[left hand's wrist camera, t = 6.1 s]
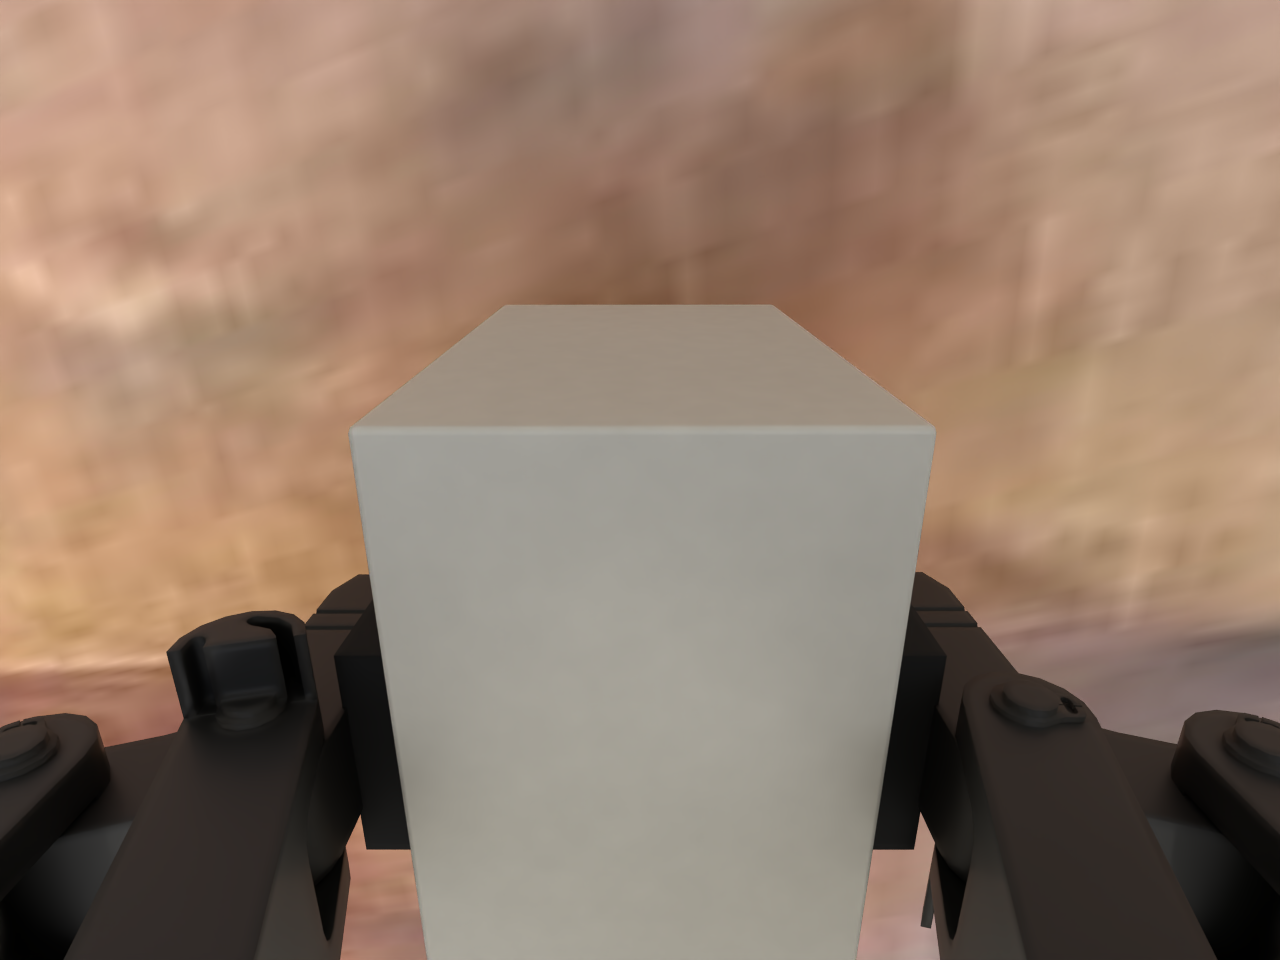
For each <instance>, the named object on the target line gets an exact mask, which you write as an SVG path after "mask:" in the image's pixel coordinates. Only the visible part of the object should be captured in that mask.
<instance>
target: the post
mask: <svg viewBox="0 0 1280 960" xmlns="http://www.w3.org/2000/svg"><path fill="white" fill-rule="evenodd" d="M348 435H349V441H350V448H351V455H352V461H353V468H354V475H355V481H356V488H357V495H358V501H359V508H360V515H361V521H362V528H363V535H364V541H365V548H366V555H367V561H368V568H369V575H370V581H371V588H372V595H373V601H374V608H375V615H376V621H377V628H378V635H379V641H380V648H381V655H382V661H383V668H384V675H385V682H386V688H387V695H388V702H389V708H390V715H391V722H392V728H393V735H394V742H395V748H396V755H397V762H398V768H399V775H400V782H401V788H402V795H403V802H404V808H405V815H406V822H407V828H408V835H409V842H410V848H411V855H412V862H413V868H414V875H415V882H416V888H417V895H418V902H419V908H420V915H421V922H422V928H423V935H424V942H425V948H426V955H427V960H856V956H857V949H858V943H859V936H860V930H861V923H862V917H863V910H864V903H865V897H866V890H867V884H868V877H869V871H870V864H871V858H872V851H873V845H874V838H875V831H876V825H877V818H878V812H879V805H880V799H881V792H882V786H883V779H884V773H885V766H886V759H887V753H888V746H889V740H890V733H891V727H892V720H893V714H894V707H895V701H896V694H897V687H898V681H899V674H900V668H901V661H902V655H903V648H904V642H905V635H906V629H907V622H908V615H909V609H910V602H911V596H912V589H913V583H914V576H915V570H916V563H917V557H918V550H919V543H920V537H921V530H922V524H923V517H924V511H925V504H926V498H927V491H928V485H929V478H930V471H931V465H932V458H933V452H934V445H935V439H936V430H935V426H933V425H932V424H931V423H929V422H928V421H927V420H925V419H924V418H923V417H921V416H920V415H919V414H917V413H916V412H915V411H913V410H912V409H911V408H909V407H908V406H907V405H905V404H904V403H903V402H901V401H900V400H899V399H897V398H896V397H895V396H893V395H892V394H891V393H889V392H888V391H887V390H885V389H884V388H883V387H881V386H880V385H879V384H877V383H876V382H875V381H873V380H872V379H871V378H869V377H868V376H867V375H865V374H864V373H863V372H861V371H860V370H859V369H857V368H856V367H855V366H853V365H852V364H851V363H849V362H848V361H847V360H845V359H844V358H843V357H841V356H840V355H839V354H837V353H836V352H835V351H833V350H832V349H831V348H829V347H828V346H827V345H825V344H824V343H823V342H821V341H820V340H819V339H817V338H816V337H815V336H813V335H812V334H811V333H809V332H808V331H807V330H805V329H804V328H803V327H801V326H800V325H799V324H797V323H796V322H795V321H793V320H792V319H791V318H789V317H788V316H787V315H785V314H784V313H783V312H781V311H780V310H779V309H777V308H776V307H775V306H773V305H505V306H503V307H502V308H500V309H499V310H498V311H497V312H495V313H494V314H493V315H491V316H490V317H489V318H488V319H486V320H485V321H484V322H483V323H481V324H480V325H479V326H478V327H476V328H475V329H474V330H472V331H471V332H470V333H469V334H467V335H466V336H465V337H464V338H462V339H461V340H460V341H459V342H457V343H456V344H455V345H454V346H452V347H451V348H450V349H448V350H447V351H446V352H445V353H443V354H442V355H441V356H440V357H438V358H437V359H436V360H435V361H433V362H432V363H431V364H430V365H428V366H427V367H426V368H424V369H423V370H422V371H421V372H419V373H418V374H417V375H416V376H414V377H413V378H412V379H411V380H409V381H408V382H407V383H406V384H404V385H403V386H402V387H400V388H399V389H398V390H397V391H395V392H394V393H393V394H392V395H390V396H389V397H388V398H387V399H385V400H384V401H383V402H382V403H380V404H379V405H378V406H376V407H375V408H374V409H373V410H371V411H370V412H369V413H368V414H366V415H365V416H364V417H363V418H361V419H360V420H359V421H357V422H356V423H355V424H354V425H352V426H351V427H350V429H349V433H348Z"/></svg>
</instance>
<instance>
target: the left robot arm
mask: <svg viewBox="0 0 1280 960" xmlns="http://www.w3.org/2000/svg"><path fill="white" fill-rule="evenodd" d="M166 653H167V656H168V660H169V664H170V668H171V672H172V675H173V679H174V683H175V687H176V691H177V694H178V698H179V702H180V706H181V710H182V713H183V717H184V719H183V721H182V723H181V725H180V727H179V729H178V731H177V732H175V733H172V734H168V735H164V736H159V737H154V738H149V739H144V740H139V741H134V742H129V743H124V744H119V745H114V746H109V747H105V748H104V745H103V742H102V739H101V736H100V732H99V729H98V726H97V724H96V723H94V722H93V721H92V720H90V719H89V718H88V717H87V716H82V715H75V714H68V713H63V714H55V715H46V716H37V717H32V718H28V719H24V720H23V721H21V722H20V721H17V722H14V723H11V724H8V725H5V726H3V727H1V728H0V960H340V956H341V948H342V940H343V933H344V925H345V917H346V909H347V902H348V894H349V886H350V870H349V863H348V857H347V852H346V844H347V842H348V840H349V838H350V836H351V833H352V831H353V829H354V827H355V825H356V823H357V820H358V818H359V816H360V814H361V820H362V825H363V831H364V837H365V843H366V849H411V848H410V842H409V835H408V828H407V822H406V815H405V808H404V802H403V795H402V788H401V782H400V775H399V768H398V762H397V755H396V748H395V742H394V735H393V728H392V722H391V715H390V708H389V702H388V695H387V688H386V682H385V675H384V668H383V661H382V655H381V648H380V641H379V635H378V628H377V621H376V615H375V608H374V601H373V595H372V588H371V581H370V575H357V576H355V577H354V578H352V579H351V580H349V581H347V582H346V583H344V584H342V585H341V586H339V587H338V588H336V589H334V590H333V591H332V592H331V593H330V594H329V595H328V596H327V598H326V599H325V600H324V601H323V603H322V604H321V605H320V606H319V608H318V609H317V613H316V614H313V615H312V616H311V617H310V619H309V620H308V621H307V622H306V624H305V623H304V622H303V621H302V620H300V619H299V618H298V617H297V616H295V615H294V614H289V613H285V612H280V611H251V612H246V613H241V614H236V615H231V616H226V617H223V618H221V619H218V620H215V621H213V622H210V623H207V624H204V625H202V626H200V627H198V628H196V629H195V630H193V631H191V632H189V633H188V634H186V635H184V636H183V637H181V638H179V639H178V641H177V642H176V643H175V644H174V645H173V646H172V647H171V648H170V649H169V650H168V651H167V652H166ZM920 811H921V814H922V816H923V818H924V820H925V822H926V824H927V826H928V829H929V831H930V833H931V835H932V837H933V839H934V841H935V846H934V852H933V857H932V863H931V868H930V873H929V879H928V884H927V890H926V895H925V901H924V906H923V912H922V920H921V926H922V927H926V928H931V925H932V919H933V914H934V915H935V923H936V931H937V938H938V946H939V954H940V960H1280V723H1278V722H1275V721H1272V720H1269V719H1266V718H1263V717H1262V718H1259V717H1258V716H1256V715H1251V714H1247V713H1238V712H1230V711H1221V710H1212V711H1204V712H1197V713H1195V714H1193V715H1192V716H1191V717H1190V718H1188V719H1187V720H1186V721H1185V722H1184V725H1183V728H1182V731H1181V735H1180V738H1179V741H1178V744H1173V743H1168V742H1163V741H1158V740H1153V739H1148V738H1143V737H1138V736H1133V735H1128V734H1123V733H1118V732H1114V731H1110V730H1106V729H1102V728H1101V726H1100V724H1099V722H1098V720H1097V718H1096V717H1095V716H1094V714H1093V713H1092V712H1091V711H1090V709H1089V708H1088V707H1087V706H1086V704H1085V703H1084V702H1082V701H1081V700H1080V699H1078V698H1077V697H1075V696H1074V695H1072V694H1071V693H1069V692H1068V691H1067V690H1065V689H1063V688H1061V687H1059V686H1056V685H1054V684H1052V683H1049V682H1047V681H1045V680H1042V679H1040V678H1036V677H1032V676H1027V675H1023V674H1019V673H1018V672H1017V671H1016V670H1015V669H1014V667H1013V666H1012V665H1011V664H1010V662H1009V661H1008V660H1007V659H1006V658H1005V656H1004V655H1003V654H1002V653H1001V651H1000V650H999V649H998V648H997V647H996V645H995V644H994V643H993V642H992V640H991V639H990V638H989V637H988V636H987V634H986V633H985V632H984V631H983V630H982V628H981V627H977V622H976V621H975V620H974V619H973V617H972V616H971V615H970V614H969V612H968V611H964V606H963V605H962V604H961V603H960V601H959V600H958V599H957V598H956V597H955V595H954V594H953V593H952V592H951V590H950V589H949V588H947V587H946V586H944V585H942V584H941V583H939V582H937V581H936V580H934V579H933V578H931V577H929V576H928V575H926V574H924V573H923V572H915V576H914V583H913V589H912V596H911V602H910V609H909V615H908V622H907V629H906V635H905V642H904V648H903V655H902V661H901V668H900V674H899V681H898V687H897V694H896V701H895V707H894V714H893V720H892V727H891V733H890V740H889V746H888V753H887V759H886V766H885V773H884V779H883V786H882V792H881V799H880V805H879V812H878V818H877V825H876V831H875V838H874V845H873V850H914V846H915V840H916V834H917V828H918V823H919V817H920Z"/></svg>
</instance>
